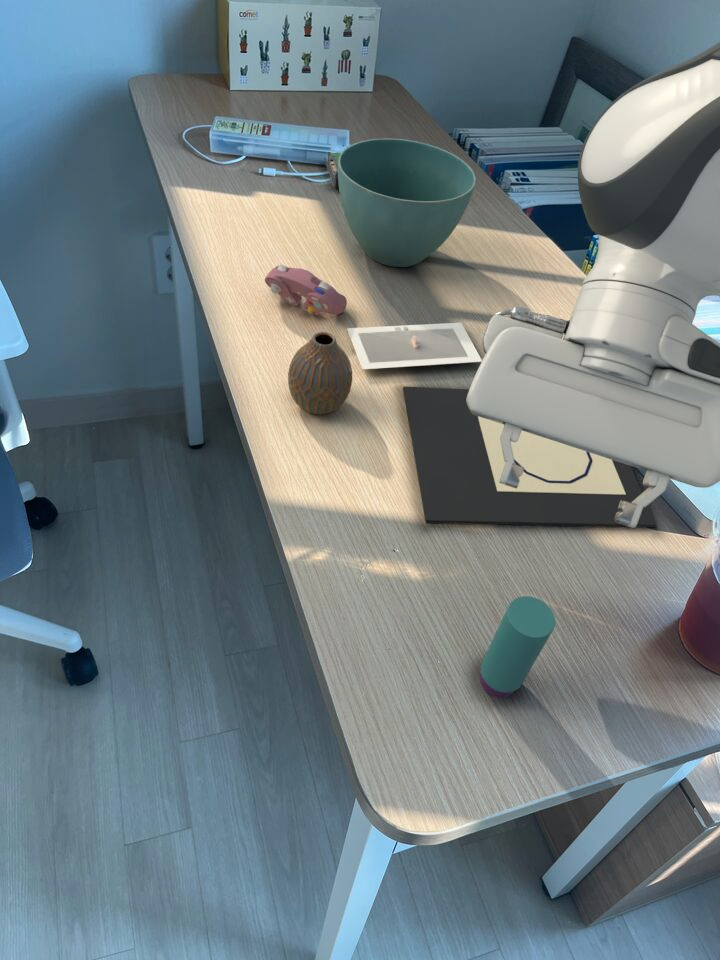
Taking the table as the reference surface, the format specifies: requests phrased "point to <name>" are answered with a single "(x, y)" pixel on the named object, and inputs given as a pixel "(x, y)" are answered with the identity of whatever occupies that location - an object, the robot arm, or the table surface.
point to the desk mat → (480, 462)
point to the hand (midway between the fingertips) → (565, 505)
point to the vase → (320, 375)
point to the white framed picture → (412, 345)
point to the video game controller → (305, 290)
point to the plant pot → (402, 197)
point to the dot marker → (516, 645)
